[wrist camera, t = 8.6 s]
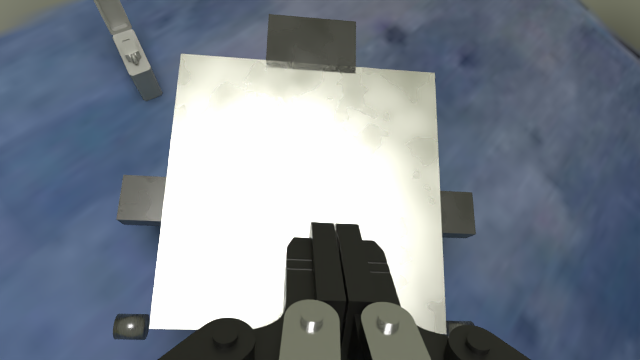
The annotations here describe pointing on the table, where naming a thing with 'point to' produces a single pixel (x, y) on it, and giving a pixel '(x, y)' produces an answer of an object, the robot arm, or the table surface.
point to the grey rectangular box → (147, 208)
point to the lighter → (129, 48)
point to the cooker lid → (295, 175)
